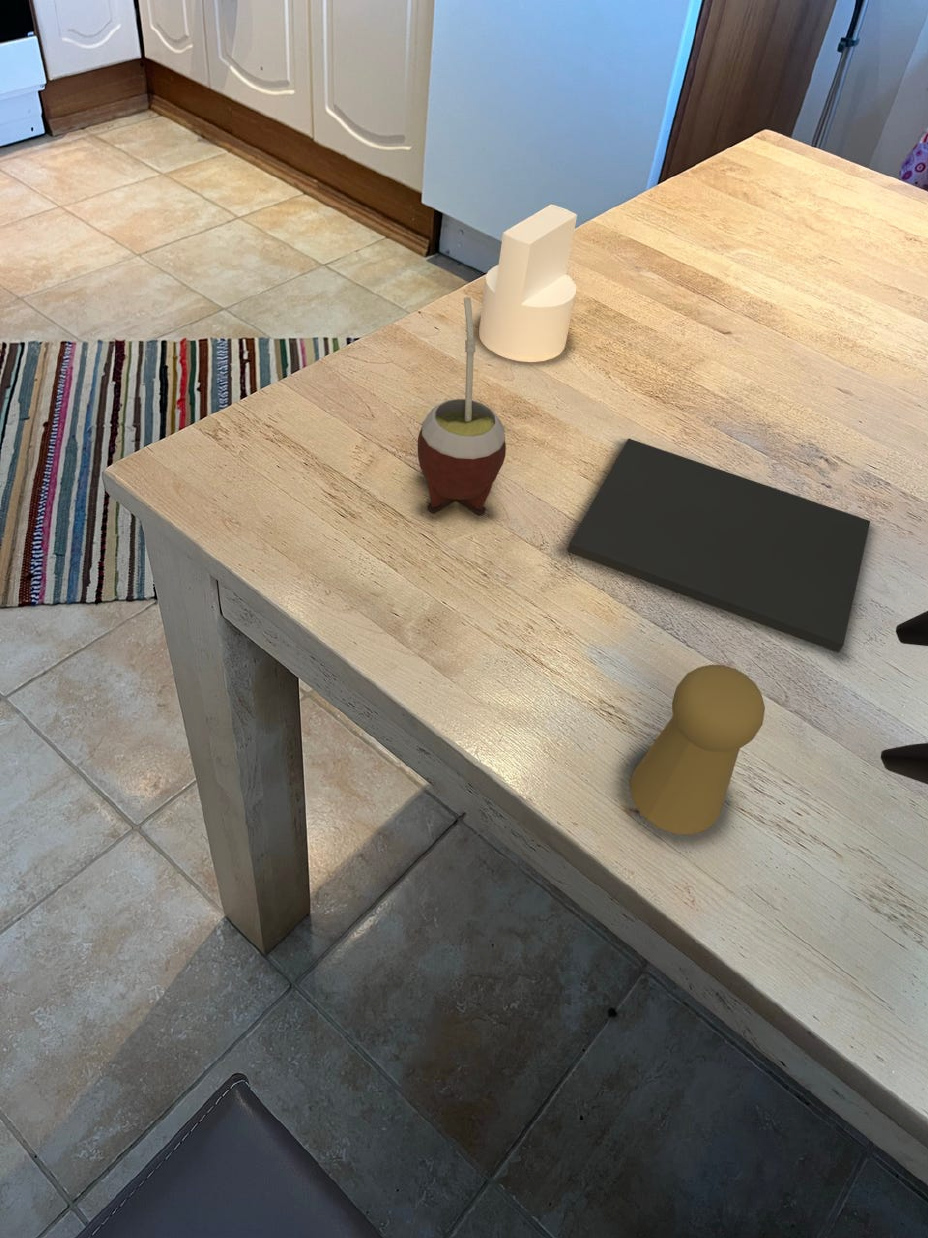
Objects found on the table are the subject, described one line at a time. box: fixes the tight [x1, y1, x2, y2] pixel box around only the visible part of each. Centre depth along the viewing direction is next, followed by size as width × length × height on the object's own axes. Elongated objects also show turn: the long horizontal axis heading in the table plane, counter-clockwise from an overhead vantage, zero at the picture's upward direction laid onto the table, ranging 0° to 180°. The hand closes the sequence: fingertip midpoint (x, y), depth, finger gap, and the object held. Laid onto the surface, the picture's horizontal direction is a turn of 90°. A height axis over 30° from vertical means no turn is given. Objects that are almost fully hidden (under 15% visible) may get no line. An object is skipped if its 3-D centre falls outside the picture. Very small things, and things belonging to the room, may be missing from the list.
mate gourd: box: [417, 296, 507, 517], centre depth 74 cm, size 8×8×15 cm
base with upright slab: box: [478, 204, 578, 363], centre depth 93 cm, size 9×9×12 cm
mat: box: [567, 438, 871, 653], centre depth 79 cm, size 22×16×1 cm
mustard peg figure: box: [629, 664, 766, 835], centre depth 58 cm, size 6×6×11 cm
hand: (890, 693), depth 49 cm, fingers open, 9 cm apart
